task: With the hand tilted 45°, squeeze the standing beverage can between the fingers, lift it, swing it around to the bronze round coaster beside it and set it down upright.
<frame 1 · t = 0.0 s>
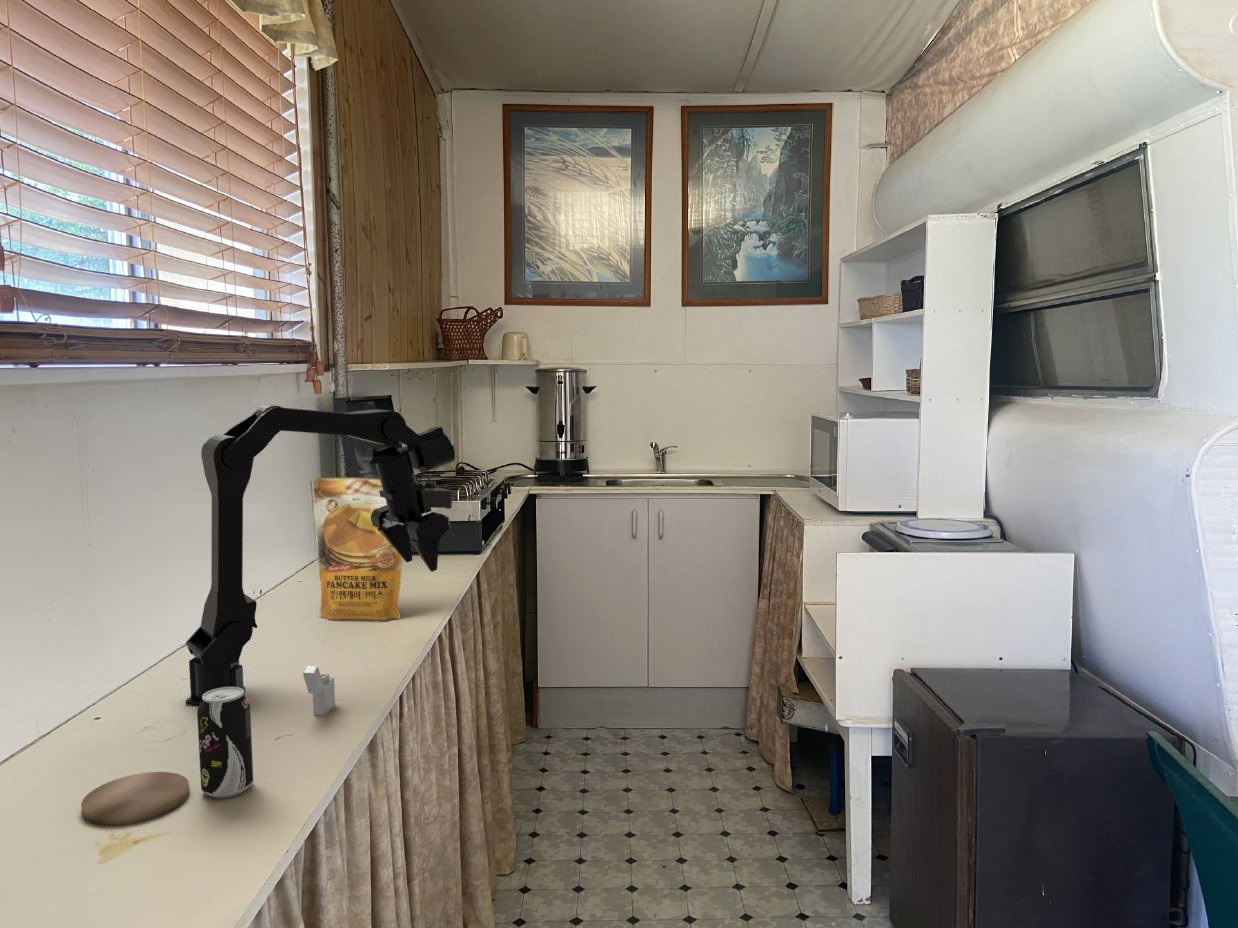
hand: (421, 565, 157), 15 cm above the worktop, tool pointing down, fingers open, 9 cm apart
bronze round coaster: (136, 801, 105), on the worktop
lighter: (320, 715, 131), on the worktop
pancake mix bag: (361, 617, 181), on the worktop
beverage can: (228, 791, 108), on the worktop
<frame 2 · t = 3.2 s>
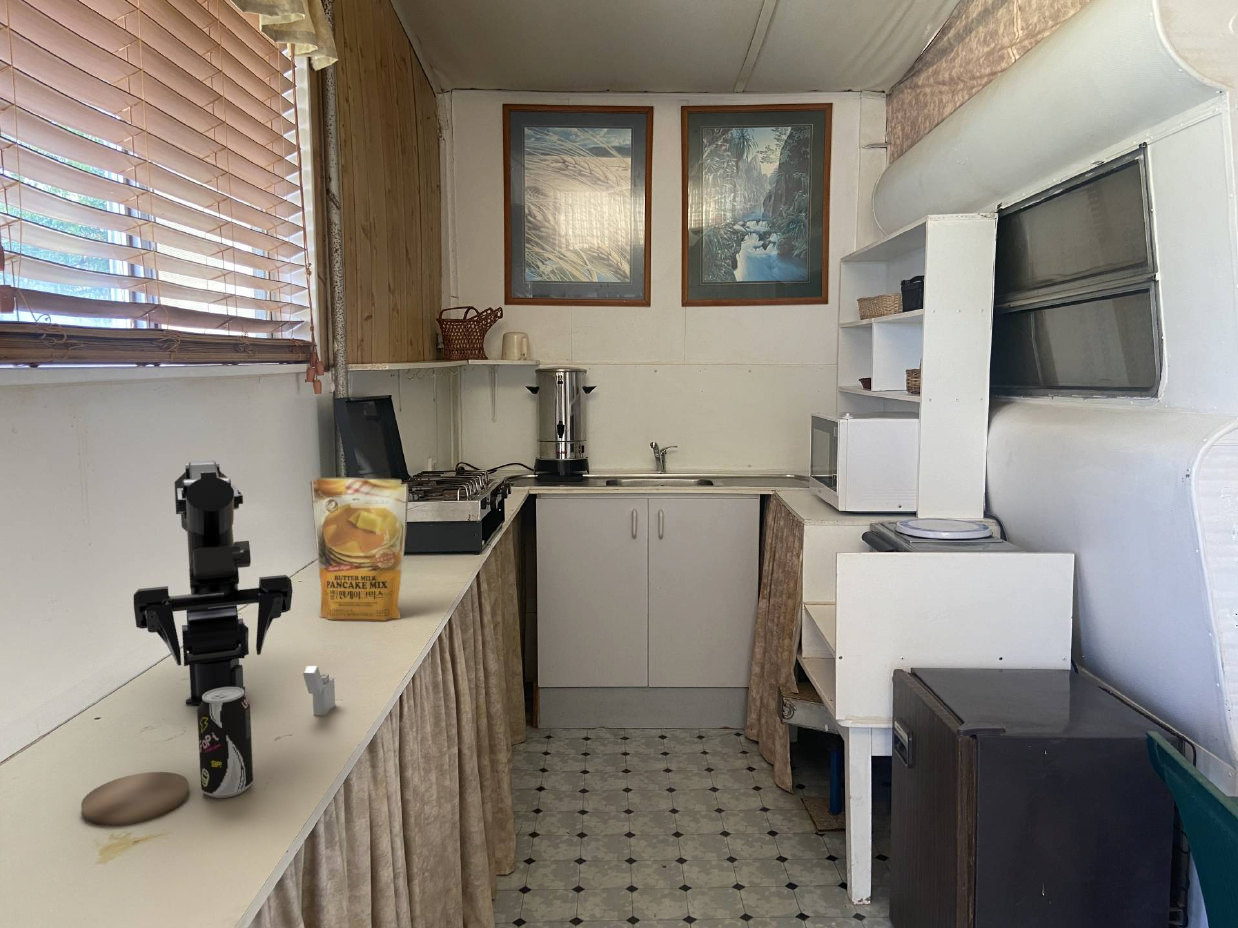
hand: (219, 658, 114), 14 cm above the worktop, tool tilted 45°, fingers open, 9 cm apart
nothing on the worktop moved.
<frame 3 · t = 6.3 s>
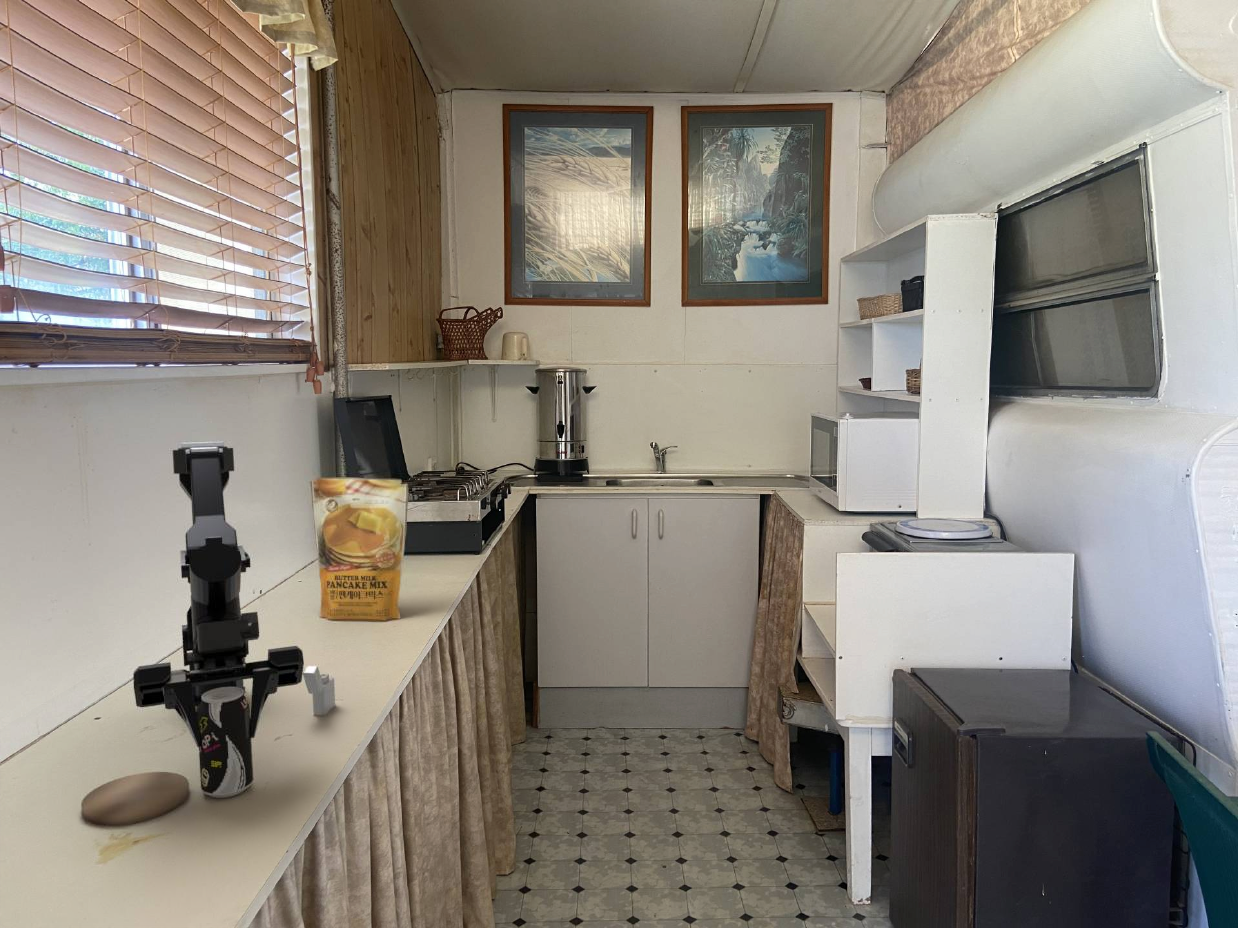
hand: (226, 741, 106), 7 cm above the worktop, tool tilted 45°, fingers closed on beverage can, 5 cm apart
beverage can: (228, 791, 108), on the worktop, touching gripper
everything else where it was.
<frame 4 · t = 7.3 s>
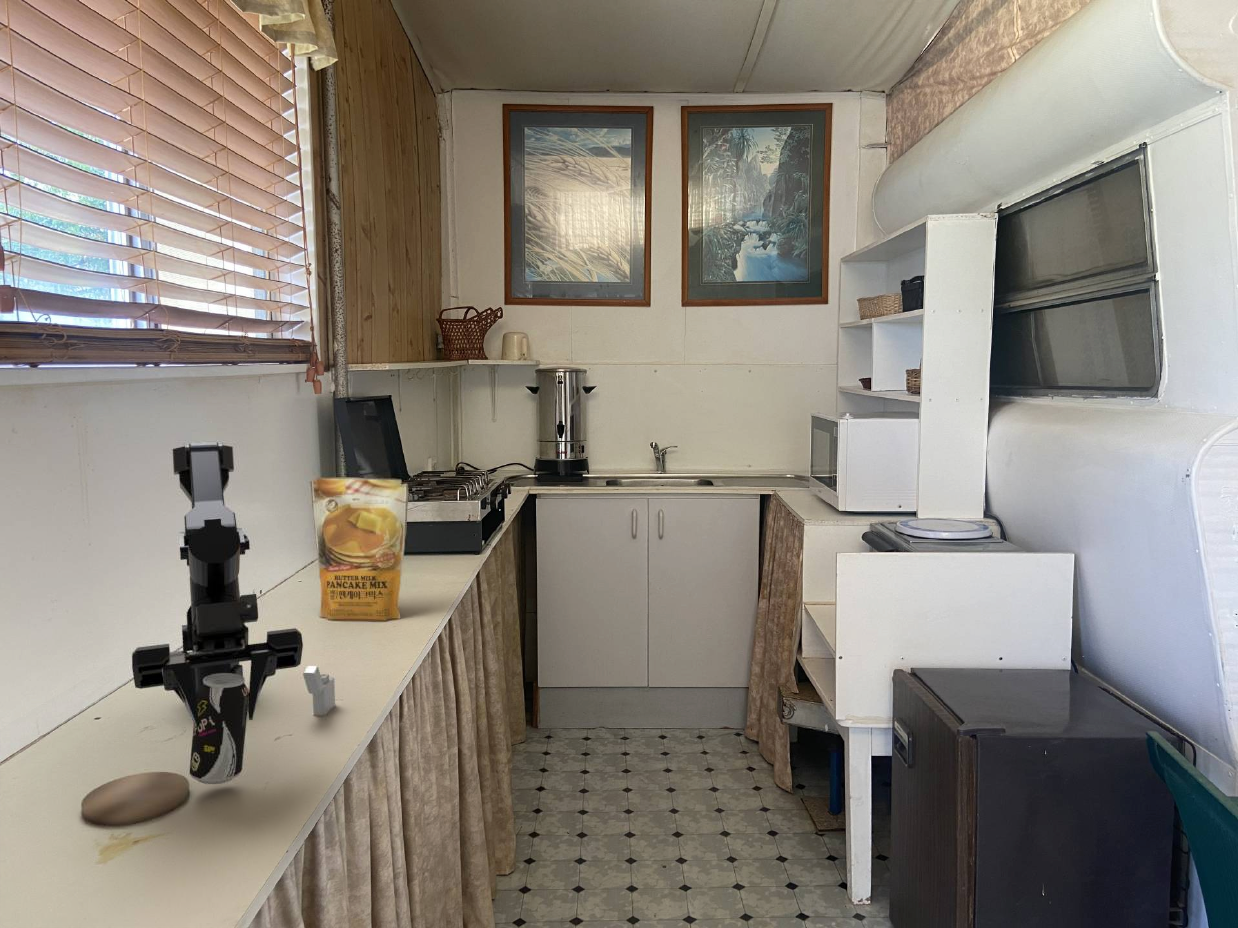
hand: (225, 722, 106), 9 cm above the worktop, tool tilted 45°, fingers closed on beverage can, 5 cm apart
beverage can: (215, 778, 107), point 2 cm above the worktop, touching gripper
everything else where it was.
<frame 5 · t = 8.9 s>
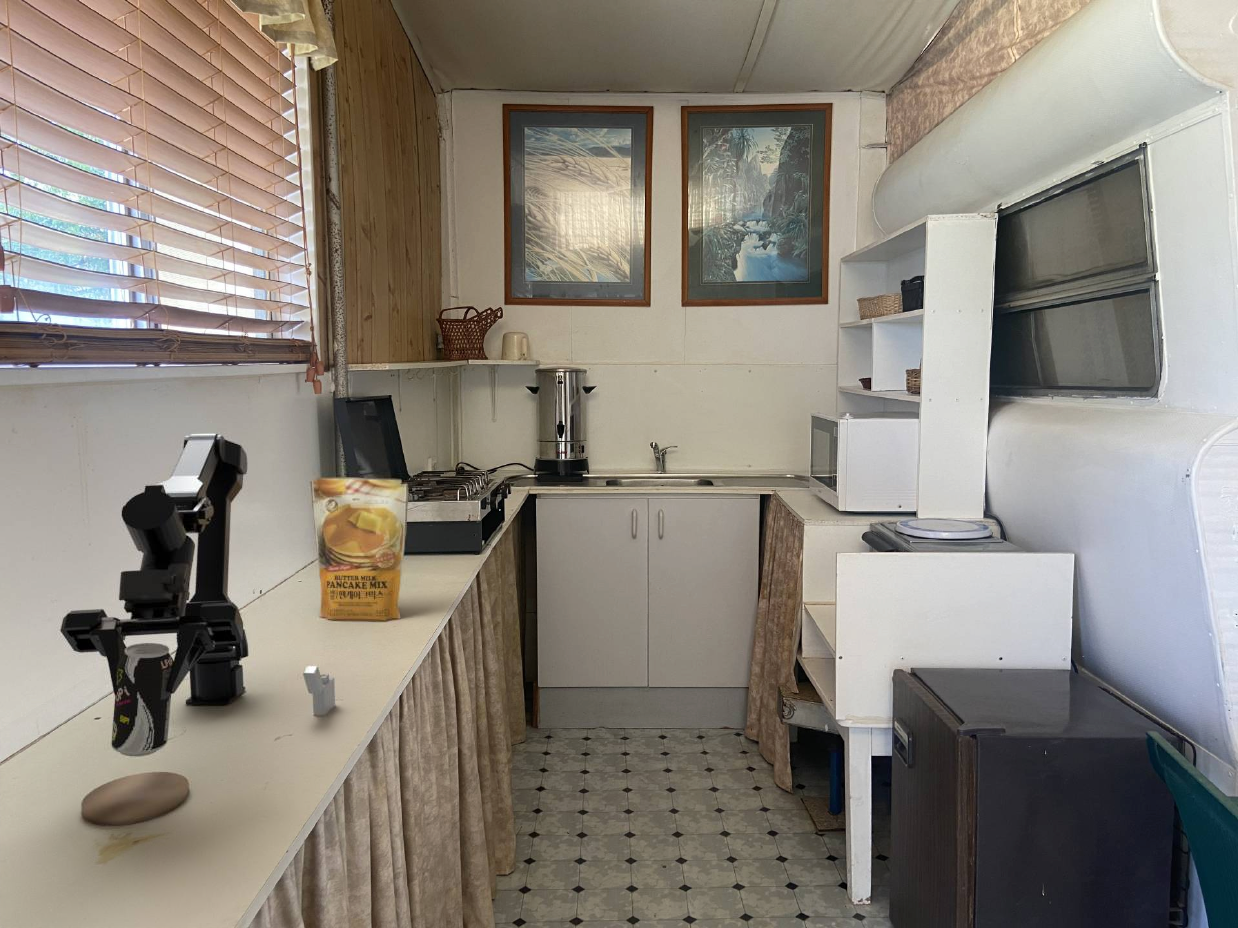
hand: (144, 694, 102), 13 cm above the worktop, tool tilted 45°, fingers closed on beverage can, 5 cm apart
beverage can: (139, 750, 104), point 6 cm above the worktop, touching gripper
everything else where it was.
when the fingers open (9 cm above the worktop, at t = 10.6 s): beverage can stays where it is, resting on bronze round coaster.
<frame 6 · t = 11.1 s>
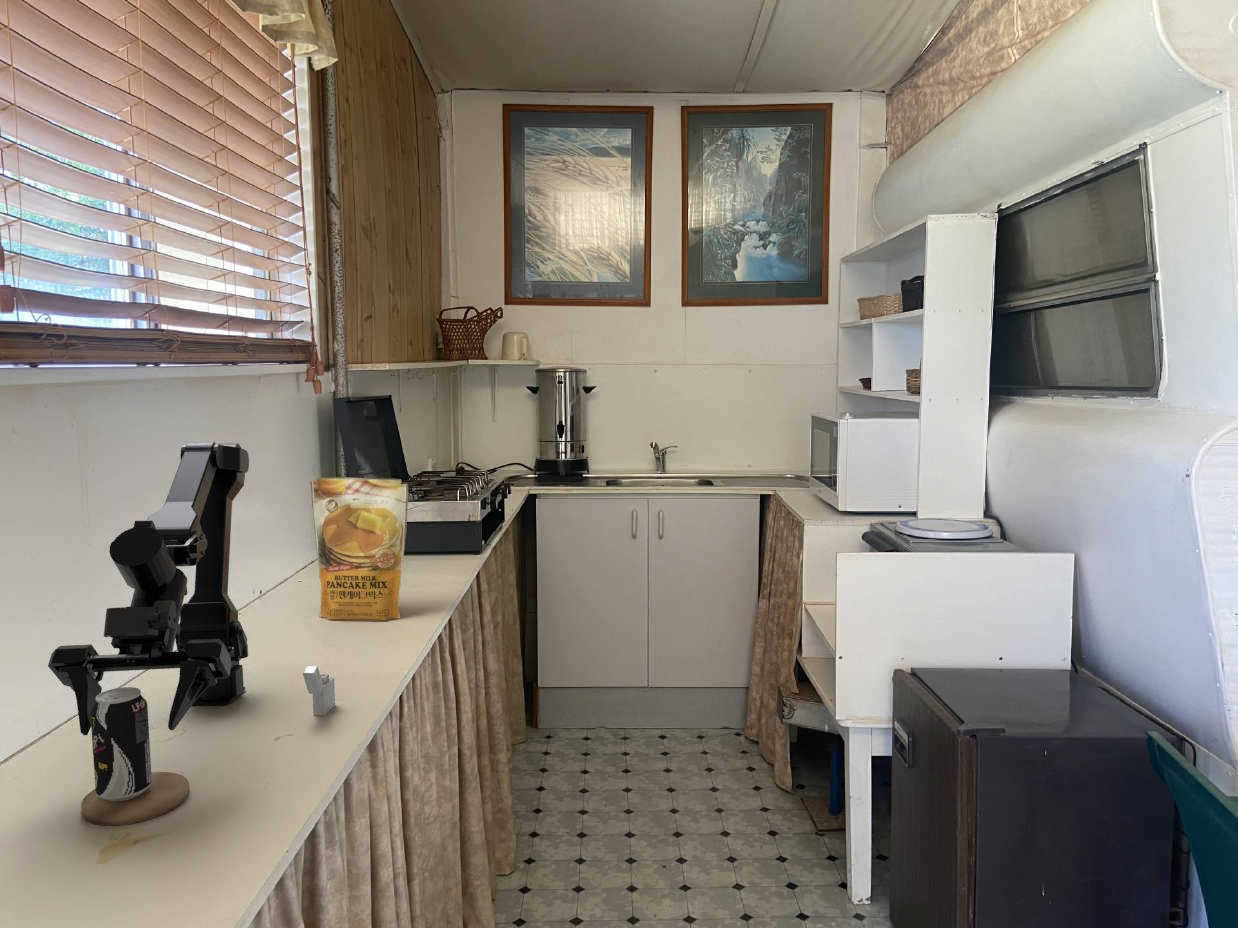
hand: (127, 731, 102), 9 cm above the worktop, tool tilted 45°, fingers open, 9 cm apart
beverage can: (124, 794, 105), point 1 cm above the worktop, touching bronze round coaster
everything else where it was.
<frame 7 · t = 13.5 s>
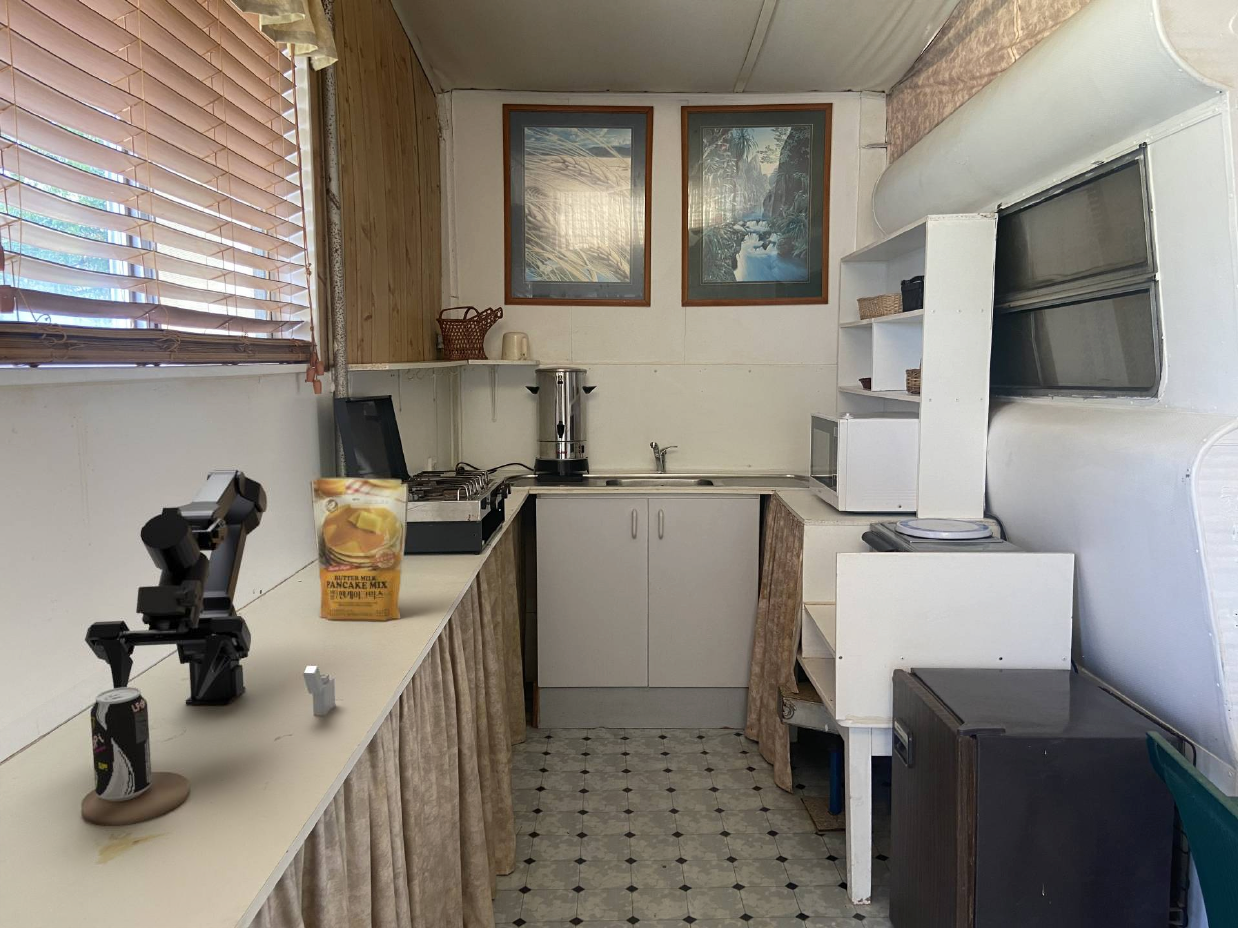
hand: (158, 699, 112), 9 cm above the worktop, tool tilted 45°, fingers open, 9 cm apart
nothing on the worktop moved.
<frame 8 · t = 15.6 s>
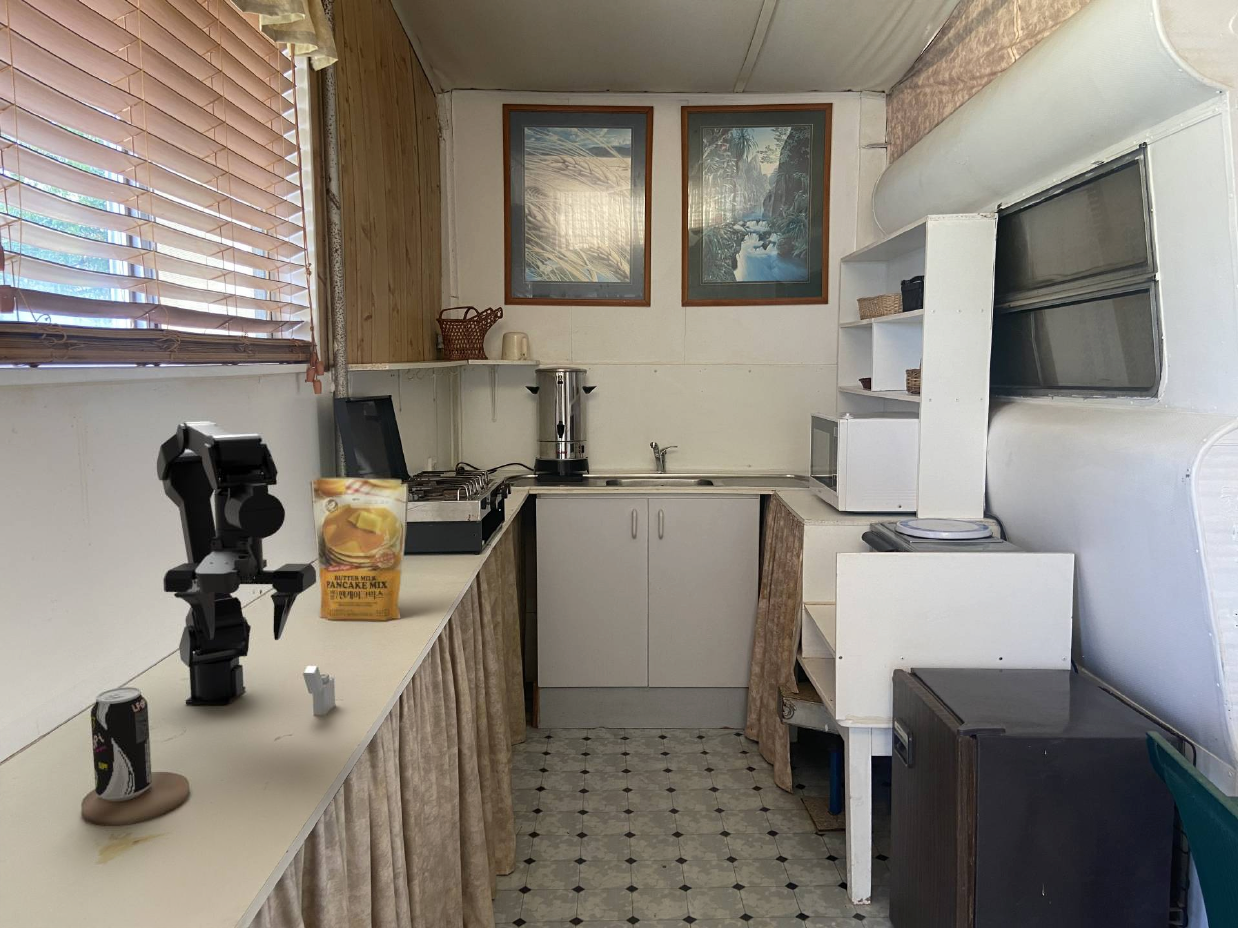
hand: (244, 639, 124), 13 cm above the worktop, tool pointing down, fingers open, 9 cm apart
nothing on the worktop moved.
at the end: beverage can 1.3 cm off-centre on the bronze round coaster, point 0.8 cm above the bronze round coaster's base; beverage can tilted 0°; the gripper is holding nothing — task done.
